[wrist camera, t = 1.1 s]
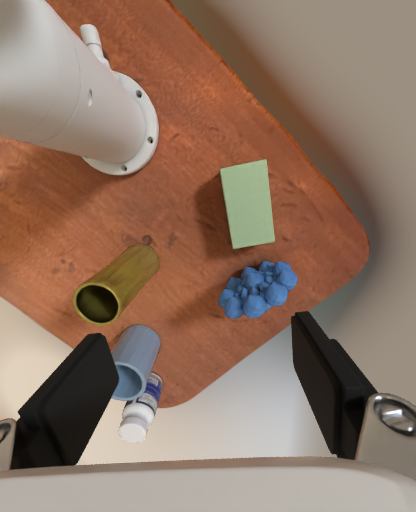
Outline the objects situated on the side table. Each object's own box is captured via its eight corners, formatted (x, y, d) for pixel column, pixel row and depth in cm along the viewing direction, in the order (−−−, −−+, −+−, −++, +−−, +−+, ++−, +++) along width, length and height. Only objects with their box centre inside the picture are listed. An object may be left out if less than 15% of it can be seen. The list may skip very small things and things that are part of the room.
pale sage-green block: (219, 171, 31) (219, 168, 27) (260, 162, 31) (266, 158, 27) (231, 242, 34) (233, 249, 31) (268, 235, 34) (275, 241, 30)
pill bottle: (142, 394, 45) (122, 448, 36) (132, 373, 44) (108, 425, 34) (167, 389, 45) (153, 443, 35) (157, 368, 43) (141, 419, 34)
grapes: (228, 304, 38) (232, 353, 26) (212, 271, 36) (210, 310, 25) (291, 280, 36) (325, 323, 25) (278, 245, 34) (309, 274, 23)
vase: (161, 247, 35) (126, 285, 22) (157, 280, 37) (122, 334, 23) (125, 240, 35) (67, 273, 21) (123, 274, 37) (68, 323, 23)
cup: (115, 327, 40) (88, 365, 32) (154, 322, 40) (137, 358, 31) (128, 360, 43) (105, 403, 34) (165, 355, 42) (151, 398, 33)
